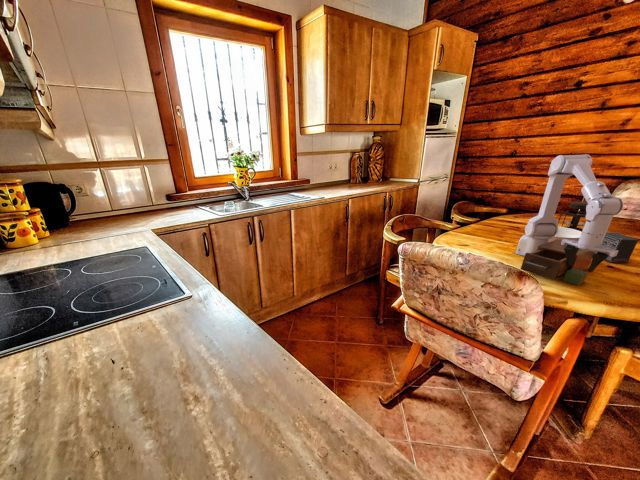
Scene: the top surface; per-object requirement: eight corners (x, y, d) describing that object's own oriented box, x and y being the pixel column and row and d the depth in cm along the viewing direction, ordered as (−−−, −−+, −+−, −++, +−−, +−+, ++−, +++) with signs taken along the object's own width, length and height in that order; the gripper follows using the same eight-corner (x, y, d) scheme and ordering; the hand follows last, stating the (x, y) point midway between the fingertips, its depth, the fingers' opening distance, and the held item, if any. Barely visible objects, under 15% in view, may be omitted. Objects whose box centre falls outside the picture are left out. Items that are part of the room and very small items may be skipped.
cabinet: (569, 276, 108) (577, 255, 104) (531, 265, 118) (538, 245, 115) (587, 268, 113) (596, 247, 110) (550, 258, 124) (557, 239, 120)
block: (562, 281, 105) (566, 270, 103) (568, 278, 107) (572, 268, 105) (577, 285, 102) (582, 275, 100) (583, 282, 103) (588, 272, 101)
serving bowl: (577, 254, 126) (583, 240, 123) (520, 244, 141) (524, 231, 138) (585, 243, 138) (590, 230, 135) (531, 234, 153) (535, 222, 150)
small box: (629, 263, 116) (640, 239, 111) (610, 262, 117) (620, 239, 113) (607, 254, 125) (617, 231, 121) (590, 253, 126) (599, 231, 122)
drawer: (548, 282, 103) (554, 265, 100) (514, 271, 112) (519, 255, 109) (572, 272, 109) (579, 255, 106) (538, 262, 119) (544, 246, 116)
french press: (582, 233, 150) (599, 190, 141) (585, 238, 144) (603, 193, 134) (553, 230, 157) (568, 189, 148) (554, 235, 150) (569, 192, 141)
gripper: (561, 229, 101) (549, 263, 107) (615, 240, 89) (599, 278, 94) (572, 226, 104) (560, 260, 109) (627, 237, 91) (611, 274, 96)
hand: (579, 268), depth 102 cm, fingers open, 6 cm apart
